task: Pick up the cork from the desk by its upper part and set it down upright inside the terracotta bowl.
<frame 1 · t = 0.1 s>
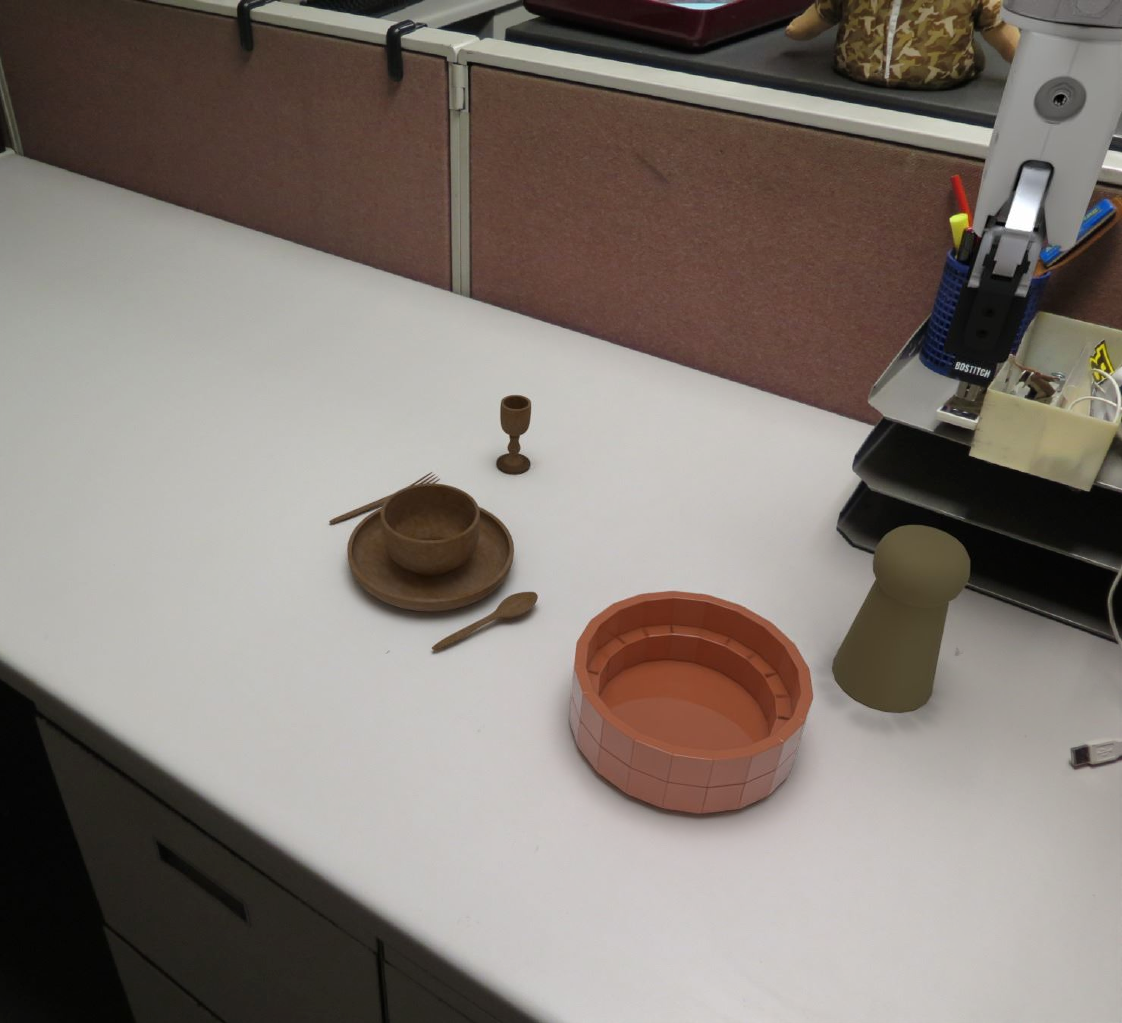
hand: (984, 319, 60), 21 cm above the table, tool pointing down, fingers open, 9 cm apart
place setting: (474, 545, 78), on the table
bowl: (680, 726, 63), on the table
cork: (880, 678, 67), on the table
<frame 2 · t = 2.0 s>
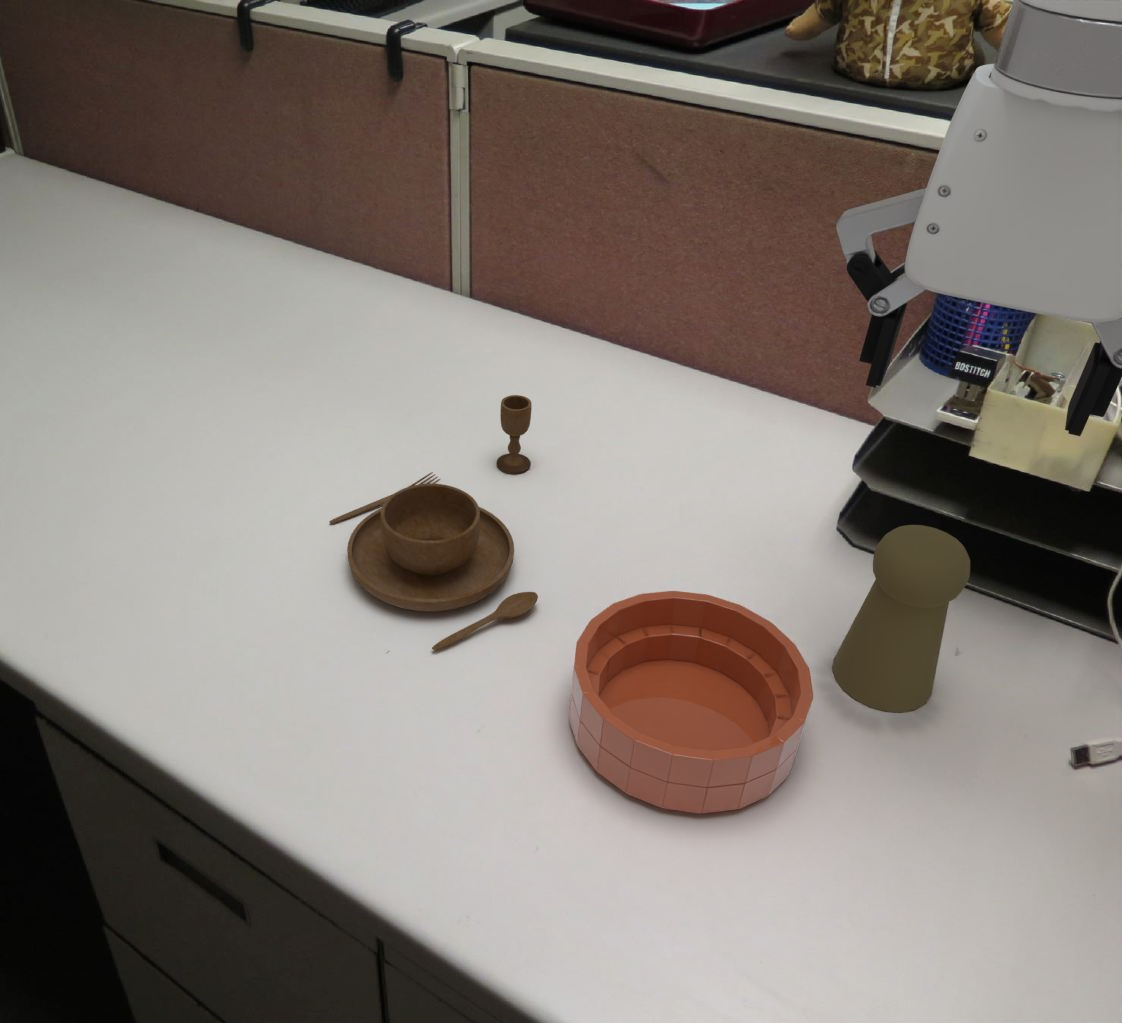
hand: (972, 398, 55), 20 cm above the table, tool pointing down, fingers open, 9 cm apart
nothing on the table moved.
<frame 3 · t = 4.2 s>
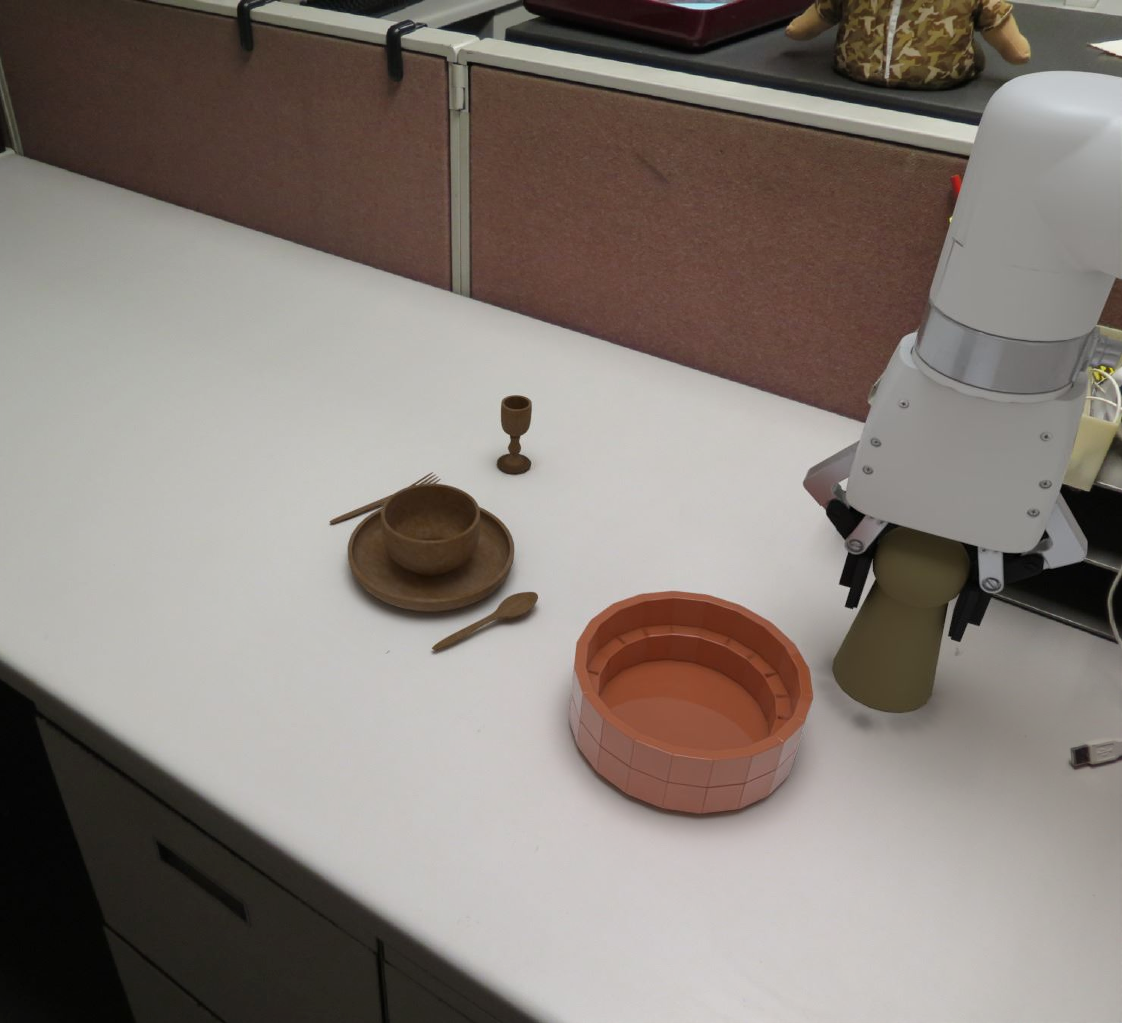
hand: (905, 608, 63), 6 cm above the table, tool pointing down, fingers closed on cork, 5 cm apart
cork: (880, 678, 67), on the table, touching gripper
everything else where it was.
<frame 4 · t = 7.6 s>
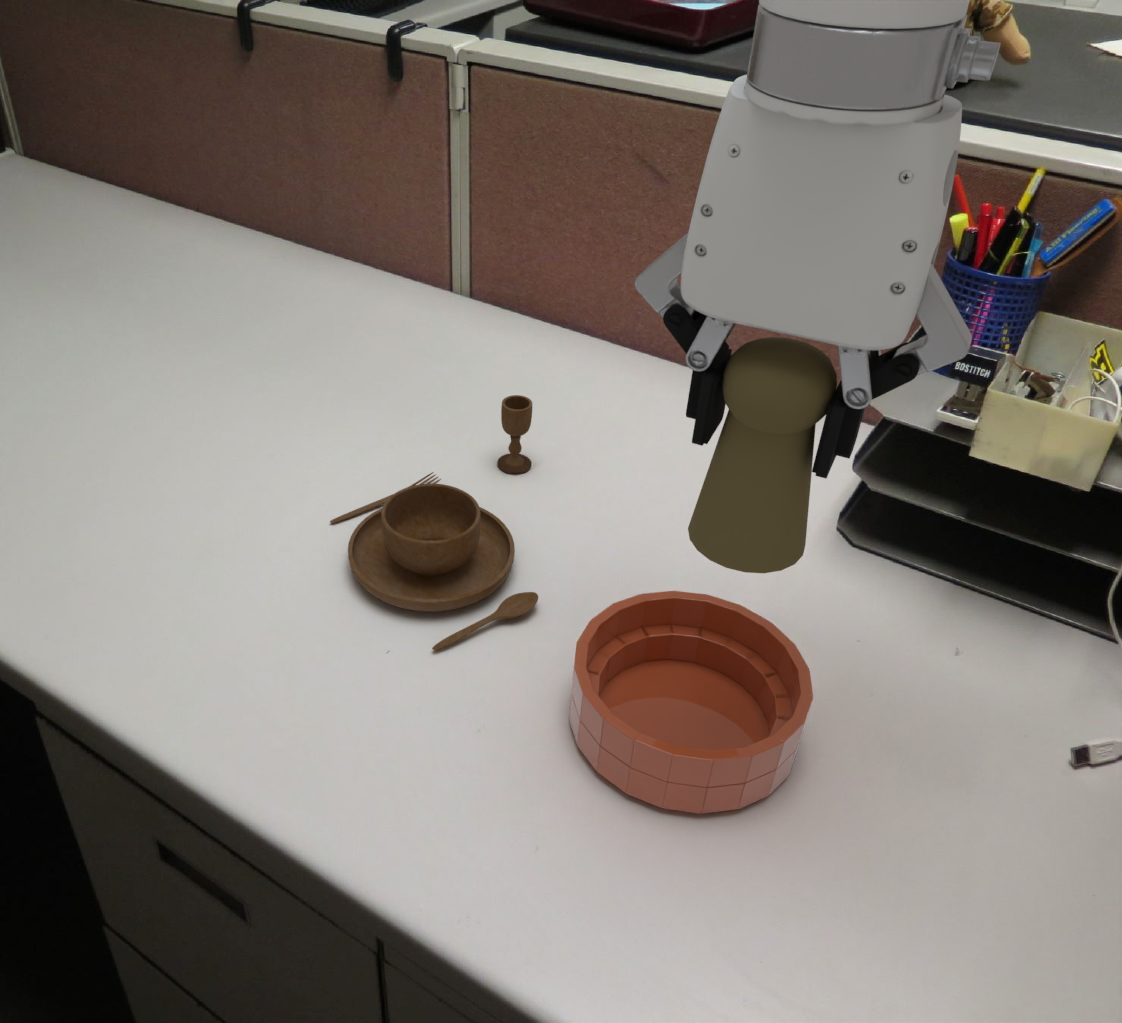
hand: (765, 444, 52), 20 cm above the table, tool pointing down, fingers closed on cork, 5 cm apart
cork: (745, 539, 55), point 14 cm above the table, touching gripper
everything else where it was.
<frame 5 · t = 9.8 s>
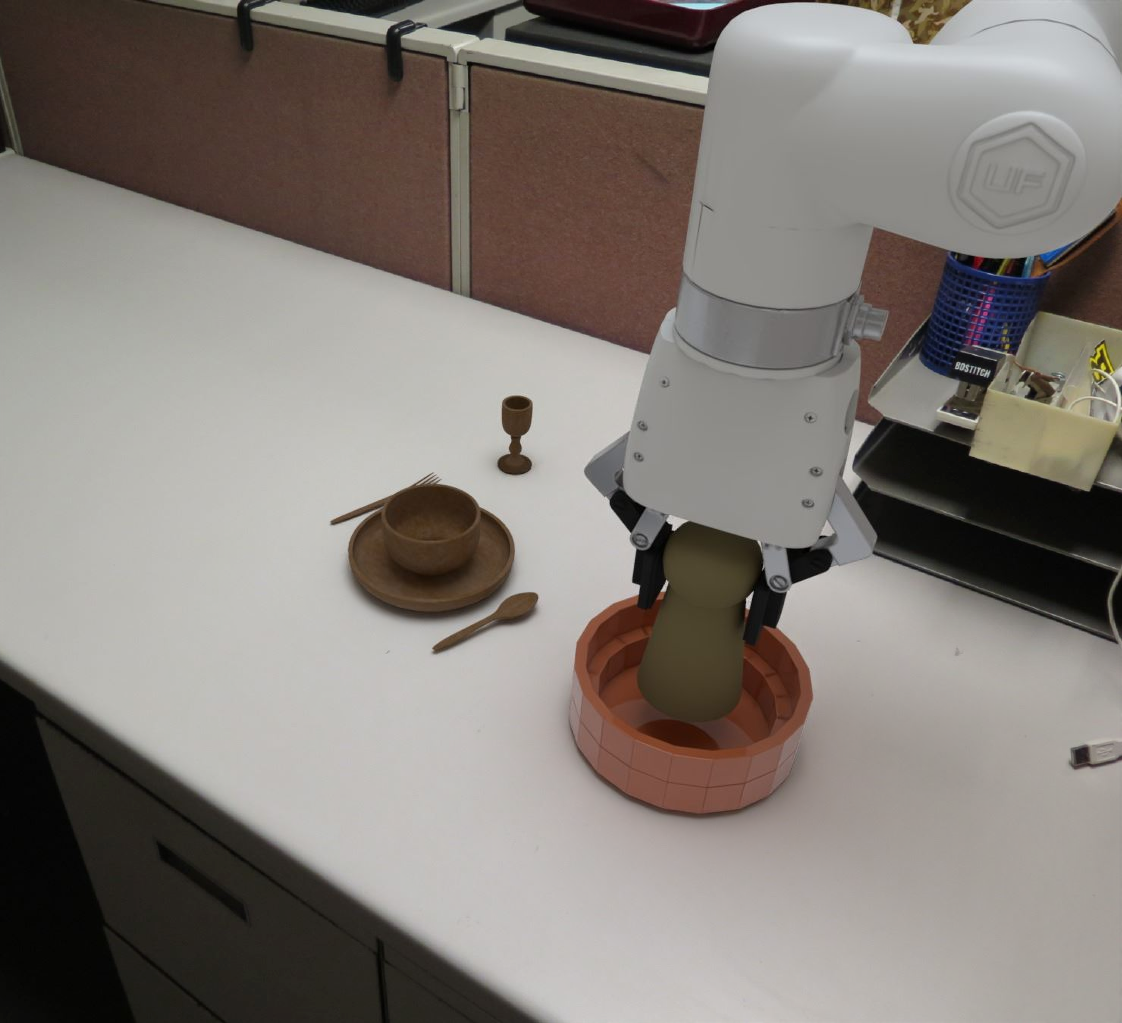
hand: (703, 609, 58), 10 cm above the table, tool pointing down, fingers closed on cork, 5 cm apart
cork: (688, 685, 61), point 4 cm above the table, touching gripper
everything else where it was.
when the fingers open (6 cm above the table, at t = 11.1 s): cork stays where it is, resting on bowl.
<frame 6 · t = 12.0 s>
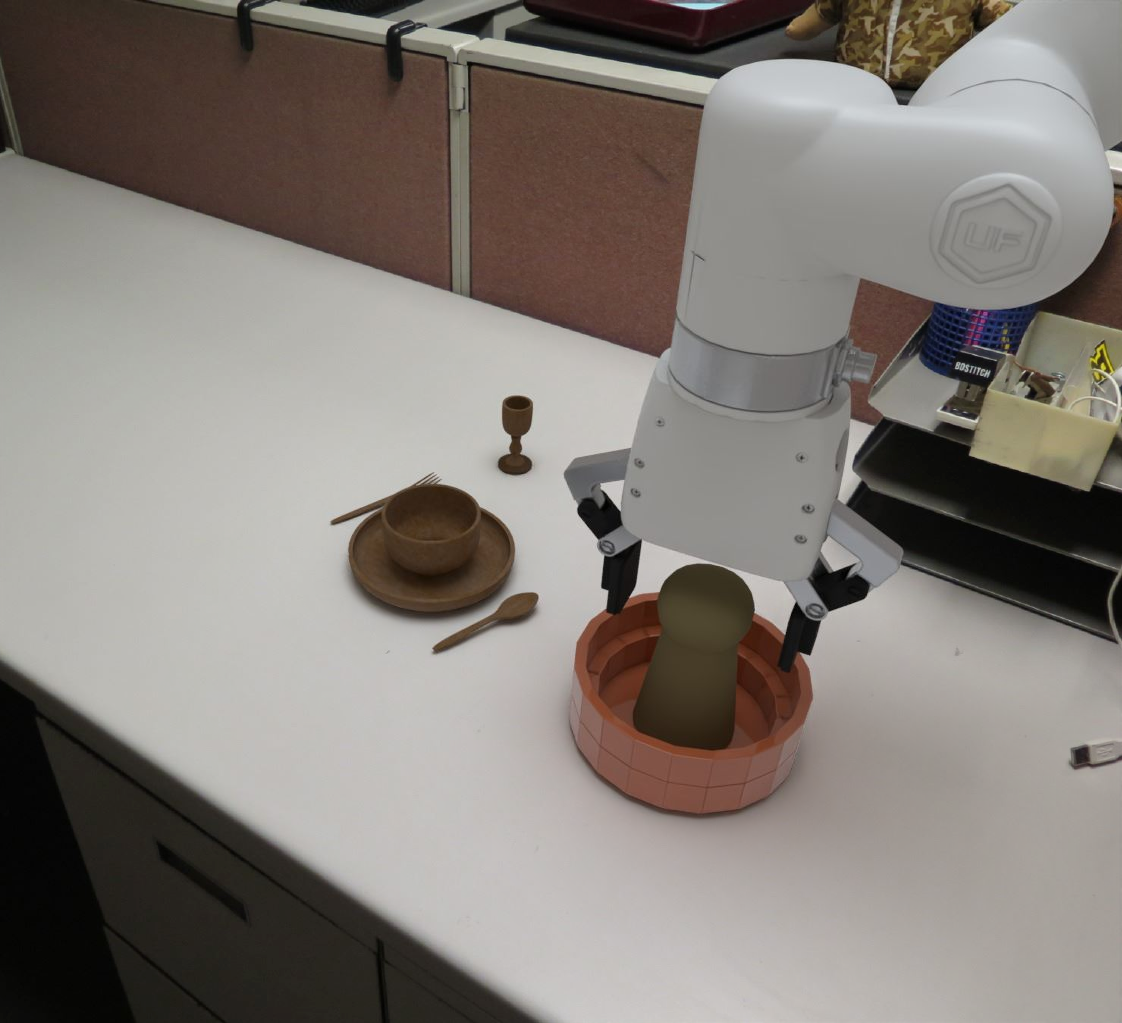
hand: (702, 626, 58), 8 cm above the table, tool pointing down, fingers open, 9 cm apart
cork: (682, 723, 63), resting on bowl
everything else where it was.
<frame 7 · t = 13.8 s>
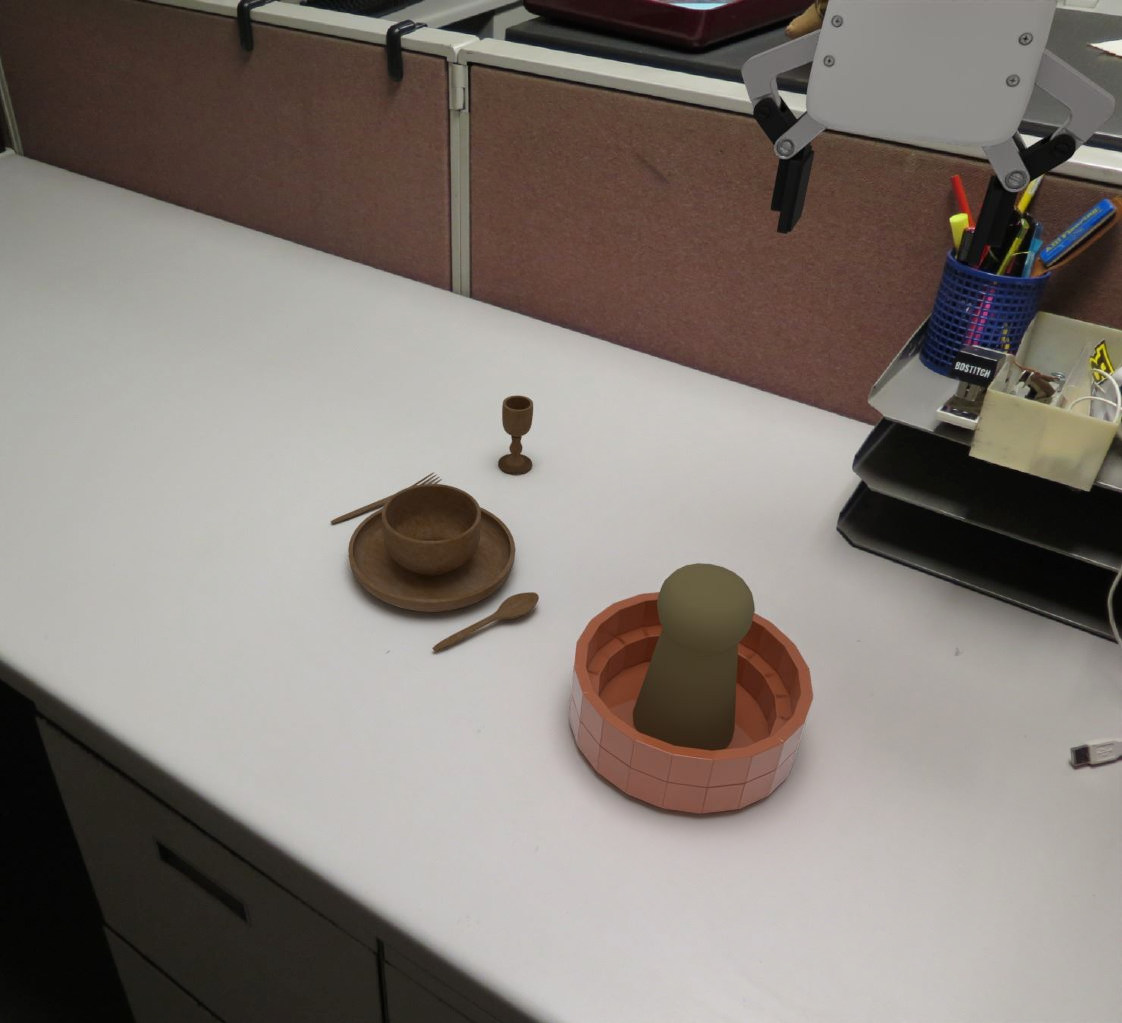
hand: (878, 240, 57), 26 cm above the table, tool pointing down, fingers open, 9 cm apart
nothing on the table moved.
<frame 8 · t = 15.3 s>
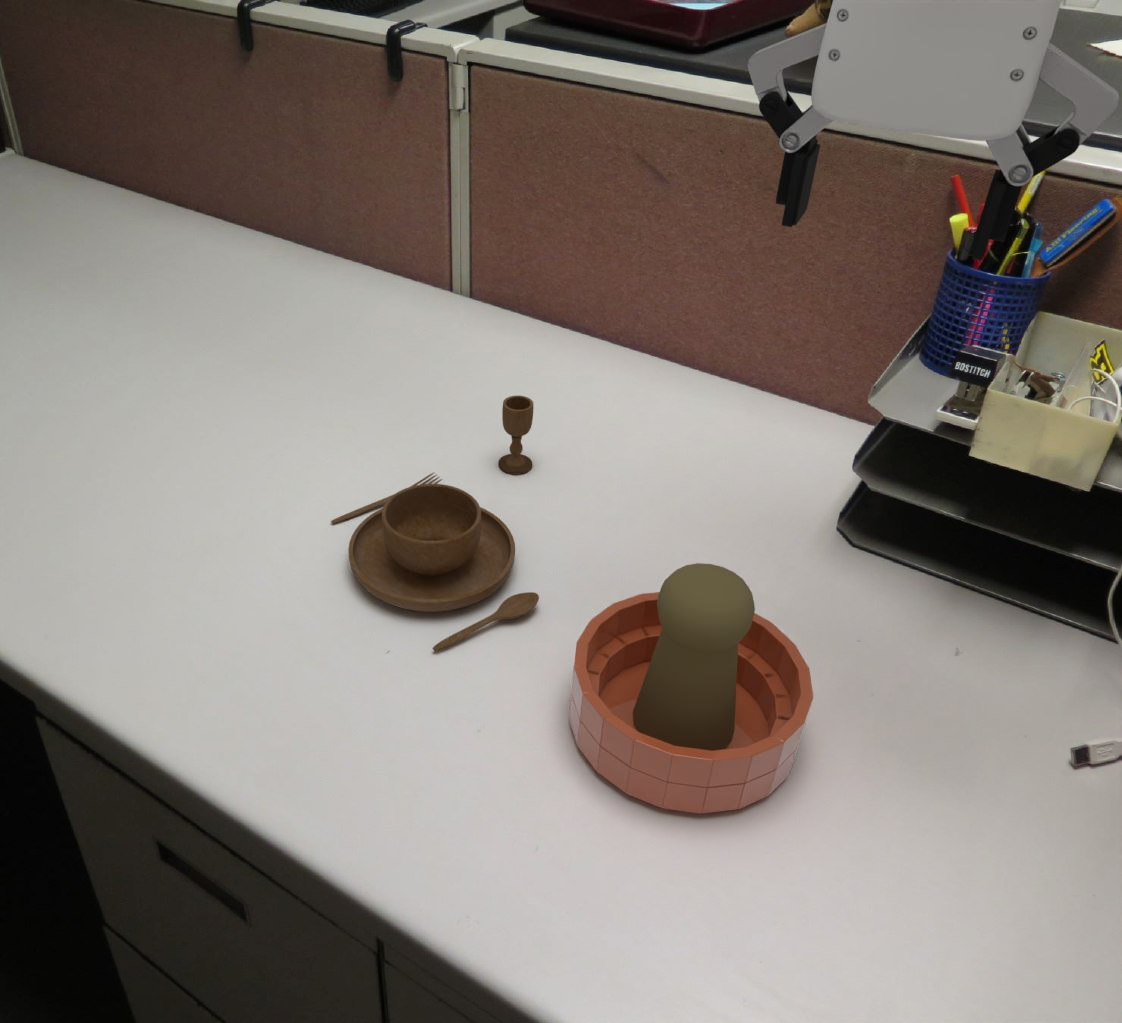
hand: (883, 234, 57), 26 cm above the table, tool pointing down, fingers open, 9 cm apart
nothing on the table moved.
at the end: cork 0.1 cm off-centre in the bowl, point 0.3 cm above the bowl's base; cork tilted 0° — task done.
